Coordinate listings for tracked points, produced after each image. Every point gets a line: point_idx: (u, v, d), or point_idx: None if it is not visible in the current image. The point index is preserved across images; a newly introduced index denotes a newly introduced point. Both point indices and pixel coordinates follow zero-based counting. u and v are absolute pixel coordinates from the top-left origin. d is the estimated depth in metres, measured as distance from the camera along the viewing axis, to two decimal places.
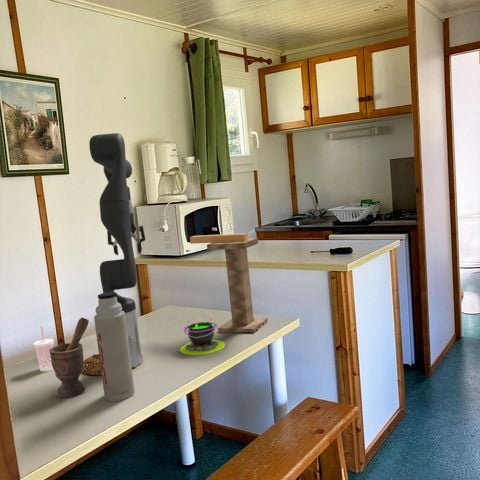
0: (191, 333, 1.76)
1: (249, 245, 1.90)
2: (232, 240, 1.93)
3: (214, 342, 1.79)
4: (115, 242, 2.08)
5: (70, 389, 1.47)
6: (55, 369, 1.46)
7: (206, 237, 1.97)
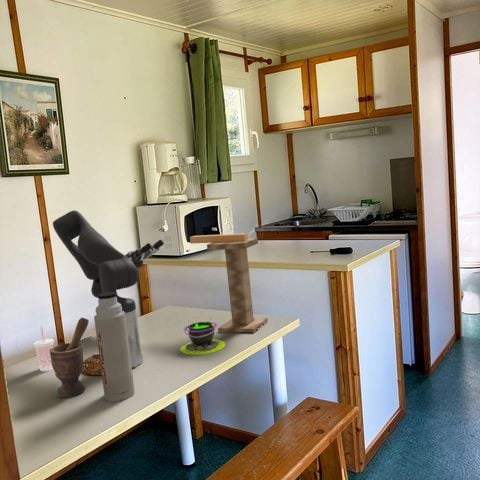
0: (191, 333, 1.76)
1: (249, 245, 1.90)
2: (232, 240, 1.93)
3: (214, 342, 1.79)
4: None
5: (70, 389, 1.47)
6: (55, 369, 1.46)
7: (206, 237, 1.97)
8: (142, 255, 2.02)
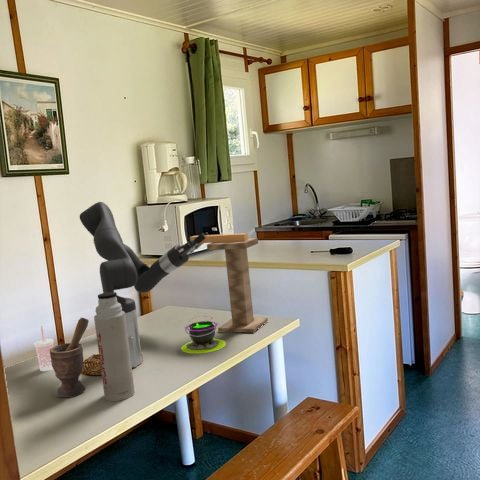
0: (192, 332, 1.77)
1: (249, 245, 1.90)
2: (232, 240, 1.93)
3: (215, 341, 1.80)
4: None
5: (70, 389, 1.47)
6: (55, 369, 1.46)
7: (206, 237, 1.97)
8: (193, 247, 1.99)
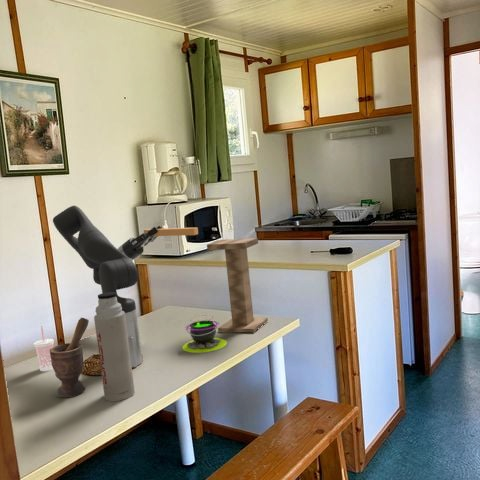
0: (193, 331, 1.78)
1: (249, 245, 1.90)
2: (183, 234, 2.01)
3: (216, 340, 1.81)
4: None
5: (70, 389, 1.47)
6: (55, 369, 1.46)
7: (158, 230, 2.05)
8: (147, 239, 2.07)
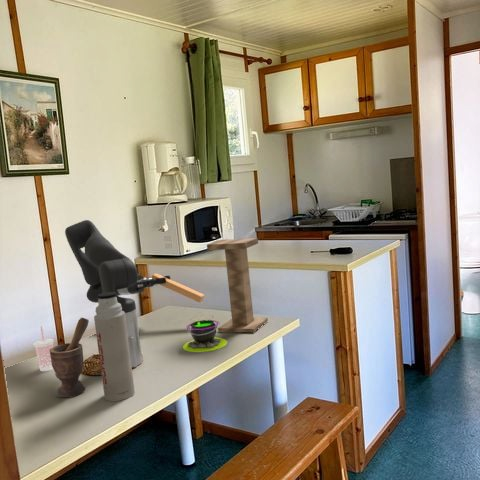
0: (194, 331, 1.78)
1: (249, 245, 1.90)
2: (189, 296, 2.06)
3: (216, 340, 1.81)
4: (152, 279, 2.10)
5: (70, 389, 1.47)
6: (55, 369, 1.46)
7: (167, 282, 2.08)
8: None
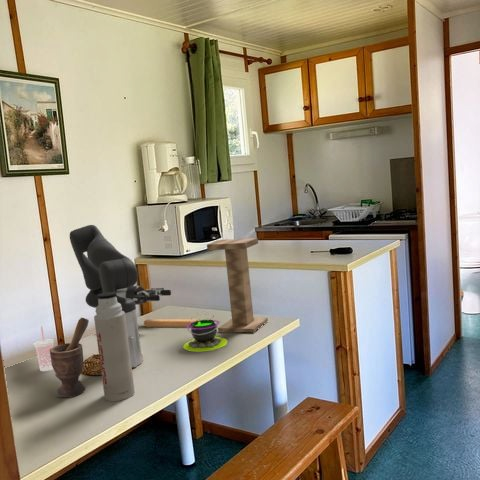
0: (194, 330, 1.79)
1: (249, 245, 1.90)
2: (183, 326, 2.07)
3: (217, 339, 1.82)
4: (147, 294, 2.08)
5: (70, 389, 1.47)
6: (55, 369, 1.46)
7: (159, 322, 2.10)
8: (147, 300, 2.09)
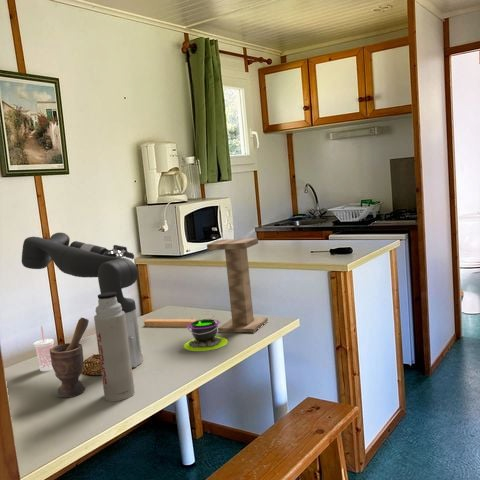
0: (194, 330, 1.79)
1: (249, 245, 1.90)
2: (183, 326, 2.07)
3: (217, 339, 1.82)
4: None
5: (70, 389, 1.47)
6: (55, 369, 1.46)
7: (159, 322, 2.10)
8: None
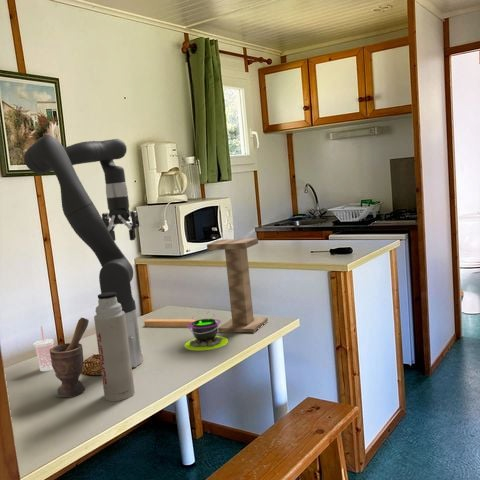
0: (195, 329, 1.80)
1: (249, 245, 1.90)
2: (183, 326, 2.07)
3: (218, 338, 1.83)
4: (109, 227, 1.95)
5: (70, 389, 1.47)
6: (55, 369, 1.46)
7: (159, 322, 2.10)
8: None
